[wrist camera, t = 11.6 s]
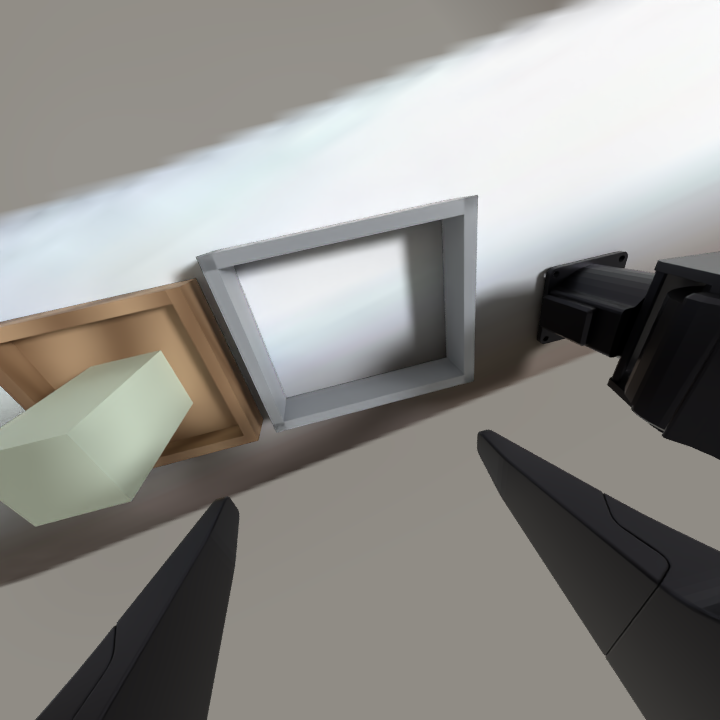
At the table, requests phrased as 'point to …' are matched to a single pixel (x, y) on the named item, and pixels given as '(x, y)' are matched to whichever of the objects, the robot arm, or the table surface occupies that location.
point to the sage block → (91, 439)
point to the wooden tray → (132, 338)
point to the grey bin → (375, 389)
